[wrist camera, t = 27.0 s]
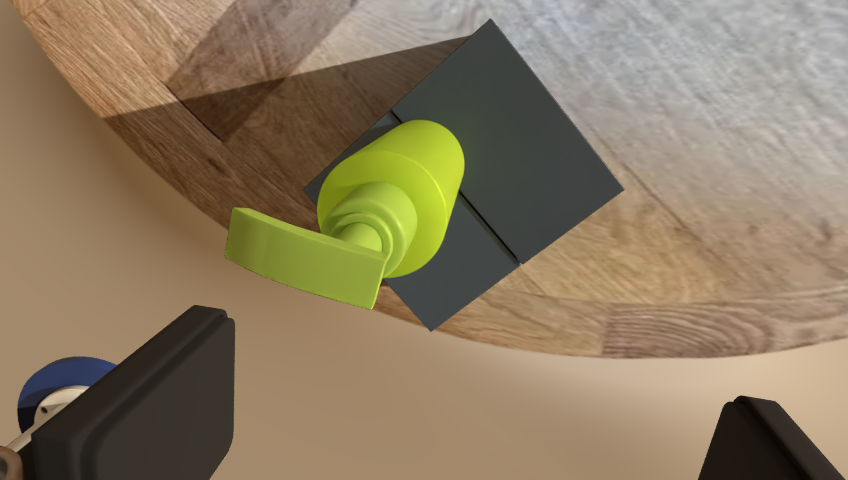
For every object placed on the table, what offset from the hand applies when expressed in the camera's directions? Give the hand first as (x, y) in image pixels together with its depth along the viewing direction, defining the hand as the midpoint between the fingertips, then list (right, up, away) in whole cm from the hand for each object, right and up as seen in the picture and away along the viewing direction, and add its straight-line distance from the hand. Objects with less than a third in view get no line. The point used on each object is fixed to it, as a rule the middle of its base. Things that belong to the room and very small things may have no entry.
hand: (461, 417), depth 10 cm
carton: (+3, +10, +37) cm, 38 cm away
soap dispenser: (-1, +9, +26) cm, 28 cm away
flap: (-2, +4, +28) cm, 28 cm away
